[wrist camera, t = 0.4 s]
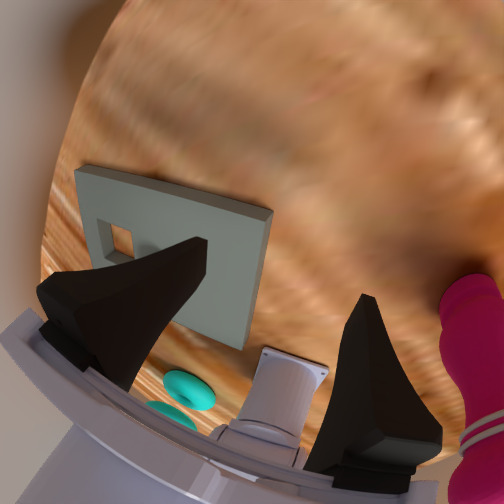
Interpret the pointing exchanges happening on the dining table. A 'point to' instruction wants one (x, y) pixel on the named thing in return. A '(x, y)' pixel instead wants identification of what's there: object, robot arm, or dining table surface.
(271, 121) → the dining table surface
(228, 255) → the plate
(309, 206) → the dining table surface
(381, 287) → the dining table surface
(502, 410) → the pepper mill
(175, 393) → the donuts
